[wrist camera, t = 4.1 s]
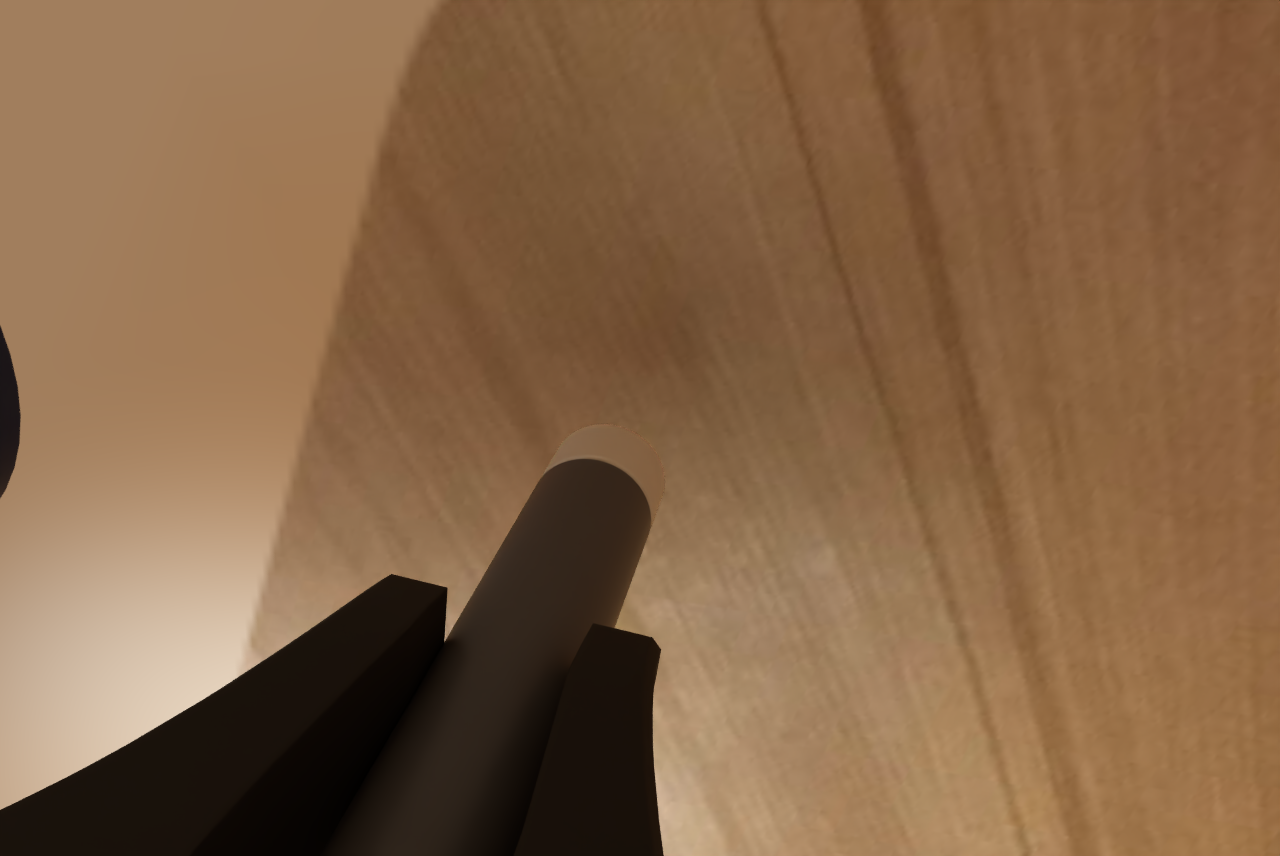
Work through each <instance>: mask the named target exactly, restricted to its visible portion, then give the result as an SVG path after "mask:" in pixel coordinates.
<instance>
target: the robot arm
mask: <svg viewBox="0 0 1280 856" xmlns="http://www.w3.org/2000/svg"><path fill="white" fill-rule="evenodd" d="M446 604H447V587H443V586H439V585H434V584H430V583H426V582H422V581H418V580H414V579H410V578H406V577H402V576H397V575H393V574H391V575H389V576H387V577H386V578H384V579H382V580H381V581H379V582H378V583H376V584H375V585H373V586H372V587H370V588H369V589H367V590H366V591H364V592H363V593H362V594H360V595H359V596H357V597H356V598H354V599H353V600H351V601H350V602H349V603H347V604H346V605H344V606H343V607H341V608H340V609H339V610H337V611H336V612H334V613H333V614H331V615H330V616H329V617H327V618H326V619H324V620H323V621H321V622H320V623H319V624H317V625H316V626H314V627H313V628H311V629H310V630H308V631H307V632H305V633H304V634H302V635H301V636H300V637H298V638H297V639H295V640H294V641H292V642H291V643H289V644H288V645H286V646H285V647H283V648H282V649H281V650H279V651H277V652H276V653H274V654H273V655H271V656H270V657H268V658H267V659H265V660H264V661H262V662H261V663H259V664H258V665H256V666H255V667H253V668H251V669H250V670H248V671H247V672H245V673H244V674H242V675H241V676H239V677H238V678H236V679H235V680H233V681H232V682H230V683H229V684H227V685H226V686H224V687H222V688H221V689H219V690H218V691H216V692H215V693H213V694H211V695H210V696H208V697H207V698H205V699H203V700H202V701H200V702H198V703H197V704H195V705H194V706H192V707H190V708H188V709H186V710H185V711H183V712H182V713H180V714H178V715H176V716H175V717H173V718H171V719H170V720H168V721H166V722H165V723H163V724H161V725H160V726H158V727H156V728H154V729H153V730H151V731H150V732H148V733H146V734H144V735H143V736H141V737H139V738H138V739H136V740H134V741H133V742H131V743H129V744H127V745H126V746H124V747H122V748H120V749H119V750H117V751H115V752H113V753H111V754H109V755H107V756H106V757H104V758H102V759H100V760H98V761H96V762H95V763H93V764H91V765H89V766H87V767H86V768H83V769H82V770H80V771H78V772H76V773H74V774H72V775H70V776H68V777H67V778H64V779H62V780H60V781H58V782H56V783H54V784H53V785H50V786H48V787H46V788H44V789H42V790H40V791H39V792H36V793H34V794H32V795H30V796H28V797H26V798H24V799H22V800H20V801H18V802H16V803H14V804H12V805H10V806H8V807H5V808H3V809H1V810H0V856H320V854H321V853H322V851H323V849H324V848H325V846H326V844H327V842H328V841H329V839H330V837H331V836H332V834H333V832H334V830H335V829H336V827H337V825H338V824H339V822H340V820H341V818H342V817H343V815H344V813H345V812H346V810H347V808H348V806H349V805H350V803H351V801H352V800H353V798H354V796H355V795H356V793H357V791H358V789H359V788H360V786H361V784H362V783H363V781H364V779H365V777H366V776H367V774H368V772H369V771H370V769H371V767H372V765H373V764H374V762H375V760H376V759H377V757H378V755H379V754H380V752H381V750H382V748H383V747H384V745H385V743H386V742H387V740H388V738H389V736H390V735H391V733H392V731H393V730H394V728H395V726H396V724H397V723H398V721H399V719H400V718H401V716H402V714H403V712H404V711H405V709H406V707H407V706H408V704H409V702H410V701H411V699H412V697H413V695H414V694H415V692H416V690H417V689H418V687H419V685H420V683H421V682H422V680H423V678H424V677H425V675H426V673H427V671H428V670H429V668H430V666H431V665H432V663H433V661H434V660H435V658H436V656H437V654H438V653H439V651H440V649H441V648H442V646H443V644H444V637H445V621H446ZM660 653H661V649H660V647H659V646H658V645H657V643H656V642H655V640H654V639H653V638H652V637H648V636H644V635H640V634H636V633H632V632H628V631H624V630H620V629H615V628H611V627H607V626H603V625H599V624H595V623H593V624H592V626H591V628H590V629H589V631H588V633H587V635H586V637H585V638H584V640H583V642H582V644H581V646H580V648H579V650H578V652H577V654H576V656H575V658H574V660H573V662H572V664H571V666H570V668H569V670H568V674H567V677H566V681H565V684H564V687H563V691H562V694H561V698H560V701H559V705H558V708H557V712H556V715H555V719H554V722H553V726H552V729H551V733H550V736H549V740H548V743H547V747H546V750H545V754H544V757H543V761H542V764H541V767H540V771H539V774H538V778H537V781H536V785H535V788H534V792H533V795H532V799H531V802H530V806H529V809H528V813H527V816H526V820H525V823H524V827H523V830H522V833H521V836H520V839H519V842H518V844H517V847H516V850H515V853H514V856H664V855H663V847H662V840H661V832H660V825H659V816H658V805H657V794H656V783H655V772H654V757H653V692H654V685H655V680H656V674H657V669H658V664H659V658H660Z"/></svg>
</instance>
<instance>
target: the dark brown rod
mask: <svg viewBox="0 0 1280 856" xmlns="http://www.w3.org/2000/svg"><path fill="white" fill-rule="evenodd" d="M664 489H665V473H664V469H663V466H662V463H661V461H660V459H659V457H658V455H657V453H656V452H655V450H654V449H653V448H652V446H651V445H650V444H649V443H648V442H647V441H646V440H645V439H643V438H642V437H641V436H639V435H638V434H636V433H634V432H633V431H631V430H629V429H626V428H624V427H620V426H617V425H610V424H596V425H591V426H586V427H583V428H580V429H578V430H576V431H574V432H573V433H571V434H570V435H569V436H568V437H567V438H565V439H564V440H563V442H562V443H561V444H560V446H559V448H558V449H557V451H556V453H555V454H554V456H553V458H552V460H551V461H550V463H549V465H548V466H547V468H546V470H545V471H544V473H543V475H542V477H541V479H540V480H539V482H538V483H537V485H536V487H535V489H534V490H533V492H532V494H531V495H530V497H529V499H528V501H527V502H526V504H525V506H524V507H523V509H522V511H521V513H520V514H519V516H518V518H517V519H516V521H515V523H514V524H513V526H512V528H511V530H510V531H509V533H508V535H507V536H506V538H505V540H504V542H503V543H502V545H501V547H500V548H499V550H498V552H497V554H496V555H495V557H494V559H493V560H492V562H491V564H490V565H489V567H488V569H487V571H486V572H485V574H484V576H483V577H482V579H481V581H480V583H479V584H478V586H477V588H476V589H475V591H474V593H473V595H472V596H471V598H470V600H469V601H468V603H467V605H466V607H465V608H464V610H463V612H462V613H461V615H460V617H459V618H458V620H457V622H456V624H455V625H454V627H453V629H452V630H451V632H450V634H449V636H448V637H447V639H446V641H445V642H444V644H443V646H442V648H441V649H440V651H439V653H438V654H437V656H436V658H435V660H434V661H433V663H432V665H431V666H430V668H429V670H428V671H427V673H426V675H425V677H424V678H423V680H422V682H421V683H420V685H419V687H418V689H417V690H416V692H415V694H414V695H413V697H412V699H411V701H410V702H409V704H408V706H407V707H406V709H405V711H404V712H403V714H402V716H401V718H400V719H399V721H398V723H397V724H396V726H395V728H394V730H393V731H392V733H391V735H390V736H389V738H388V740H387V742H386V743H385V745H384V747H383V748H382V750H381V752H380V754H379V755H378V757H377V759H376V760H375V762H374V764H373V765H372V767H371V769H370V771H369V772H368V774H367V776H366V777H365V779H364V781H363V783H362V784H361V786H360V788H359V789H358V791H357V793H356V795H355V796H354V798H353V800H352V801H351V803H350V805H349V806H348V808H347V810H346V812H345V813H344V815H343V817H342V818H341V820H340V822H339V824H338V825H337V827H336V829H335V830H334V832H333V834H332V836H331V837H330V839H329V841H328V842H327V844H326V846H325V848H324V849H323V851H322V853H321V854H320V856H514V853H515V850H516V847H517V844H518V842H519V839H520V836H521V833H522V830H523V827H524V823H525V820H526V816H527V813H528V809H529V806H530V802H531V799H532V795H533V792H534V788H535V785H536V781H537V778H538V774H539V771H540V767H541V764H542V761H543V757H544V754H545V750H546V747H547V743H548V740H549V736H550V733H551V729H552V726H553V722H554V719H555V715H556V712H557V708H558V705H559V701H560V698H561V694H562V691H563V687H564V684H565V681H566V677H567V674H568V670H569V668H570V666H571V664H572V662H573V660H574V658H575V656H576V654H577V652H578V650H579V648H580V646H581V644H582V642H583V640H584V638H585V637H586V635H587V633H588V631H589V629H590V628H591V626H592V624H593V623H595V624H599V625H603V626H607V627H611V628H615V625H616V622H617V619H618V617H619V614H620V611H621V609H622V606H623V603H624V600H625V598H626V595H627V592H628V589H629V587H630V584H631V581H632V578H633V576H634V573H635V570H636V567H637V565H638V562H639V559H640V557H641V554H642V551H643V548H644V546H645V543H646V540H647V537H648V535H649V531H650V529H651V526H652V524H653V521H654V518H655V515H656V513H657V510H658V507H659V504H660V502H661V499H662V496H663V493H664Z"/></svg>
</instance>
